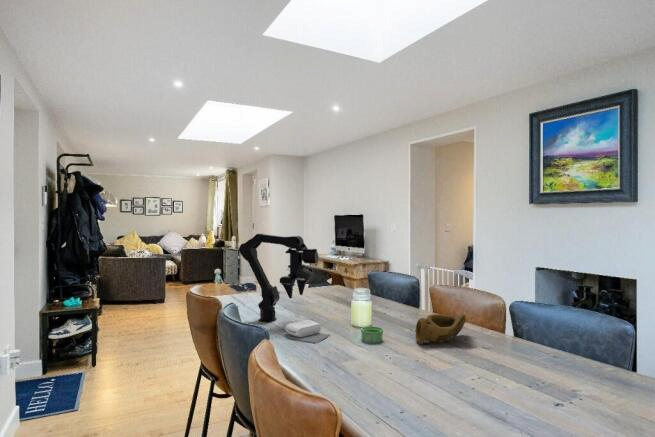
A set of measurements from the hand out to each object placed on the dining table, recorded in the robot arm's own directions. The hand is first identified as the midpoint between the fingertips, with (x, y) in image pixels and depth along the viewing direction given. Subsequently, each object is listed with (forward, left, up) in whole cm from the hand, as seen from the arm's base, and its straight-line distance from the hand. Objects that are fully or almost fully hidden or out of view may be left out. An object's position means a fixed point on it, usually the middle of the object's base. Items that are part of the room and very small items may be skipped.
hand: (295, 296), depth 184 cm
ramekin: (+41, -8, -12) cm, 44 cm away
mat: (+17, -17, -12) cm, 27 cm away
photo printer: (+15, -9, -9) cm, 20 cm away
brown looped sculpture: (+66, +5, -12) cm, 68 cm away
